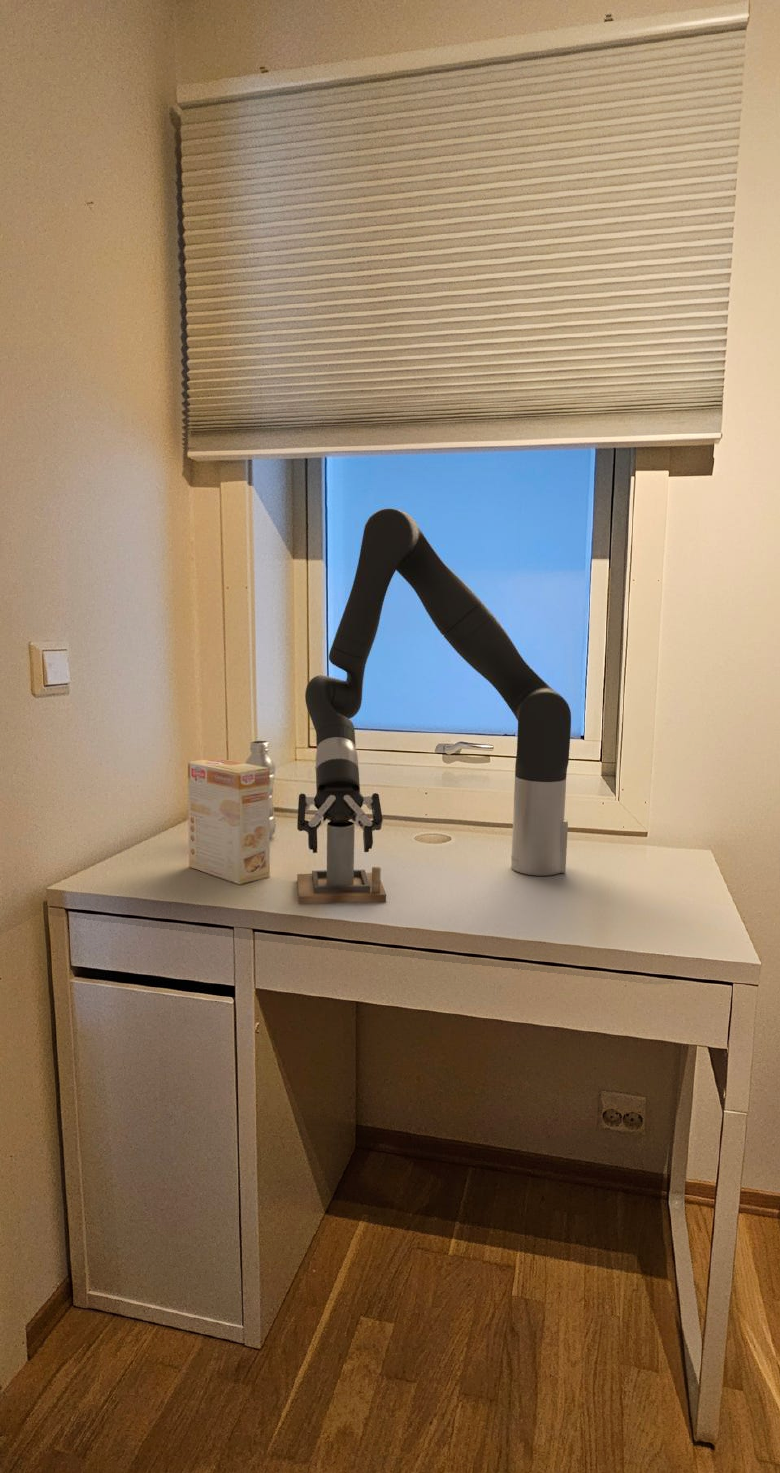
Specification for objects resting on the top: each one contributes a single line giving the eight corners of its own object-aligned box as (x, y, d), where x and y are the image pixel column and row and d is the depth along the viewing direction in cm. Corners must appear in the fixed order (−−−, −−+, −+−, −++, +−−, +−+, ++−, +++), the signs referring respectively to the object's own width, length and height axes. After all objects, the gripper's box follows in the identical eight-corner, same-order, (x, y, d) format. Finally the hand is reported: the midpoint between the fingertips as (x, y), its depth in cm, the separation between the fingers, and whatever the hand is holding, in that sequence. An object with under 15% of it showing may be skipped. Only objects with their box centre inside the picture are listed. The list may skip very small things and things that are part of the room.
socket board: (377, 879, 149) (378, 850, 148) (386, 901, 137) (386, 870, 136) (297, 880, 147) (297, 851, 146) (298, 903, 135) (299, 872, 134)
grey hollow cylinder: (349, 888, 139) (350, 827, 138) (323, 886, 140) (323, 825, 139) (356, 880, 144) (357, 821, 142) (330, 878, 145) (331, 819, 143)
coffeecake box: (271, 877, 149) (271, 767, 146) (238, 885, 144) (238, 772, 141) (219, 859, 159) (218, 756, 156) (187, 867, 153) (185, 761, 151)
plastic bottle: (282, 837, 176) (282, 741, 173) (261, 844, 170) (260, 745, 167) (258, 832, 179) (258, 738, 176) (236, 839, 173) (236, 742, 170)
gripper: (296, 757, 145) (298, 839, 136) (379, 756, 147) (386, 838, 137) (296, 781, 151) (297, 862, 142) (375, 781, 153) (381, 860, 143)
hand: (341, 850), depth 139 cm, fingers open, 8 cm apart
